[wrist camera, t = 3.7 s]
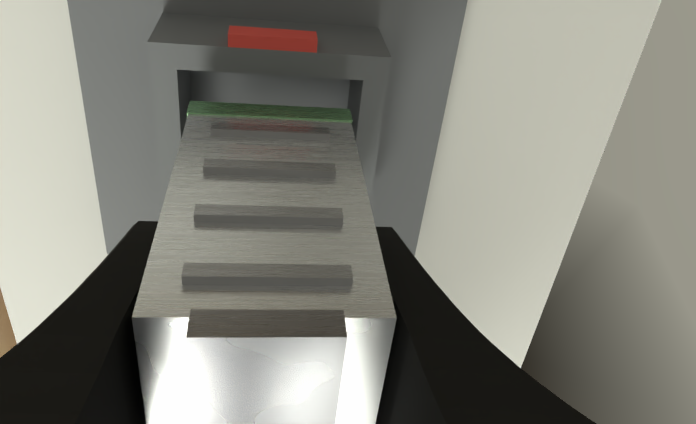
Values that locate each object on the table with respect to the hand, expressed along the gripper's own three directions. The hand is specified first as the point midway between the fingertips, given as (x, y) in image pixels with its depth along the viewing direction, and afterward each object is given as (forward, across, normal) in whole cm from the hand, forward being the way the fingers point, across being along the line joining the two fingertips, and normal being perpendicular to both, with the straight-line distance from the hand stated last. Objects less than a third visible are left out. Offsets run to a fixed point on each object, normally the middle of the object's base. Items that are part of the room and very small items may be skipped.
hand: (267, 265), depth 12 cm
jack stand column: (+3, 0, 0) cm, 3 cm away
